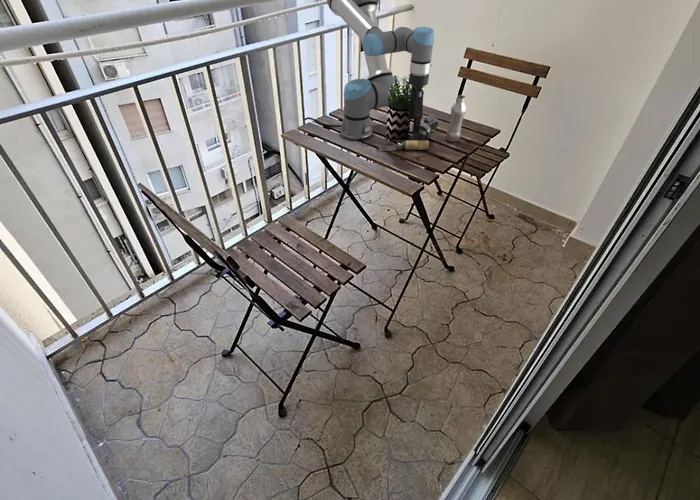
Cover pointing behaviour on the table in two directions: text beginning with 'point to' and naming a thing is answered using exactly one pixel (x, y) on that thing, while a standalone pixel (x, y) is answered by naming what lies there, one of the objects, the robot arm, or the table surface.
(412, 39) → the robot arm
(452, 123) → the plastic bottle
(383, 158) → the table surface
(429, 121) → the wine glass
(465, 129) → the table surface
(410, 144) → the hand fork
